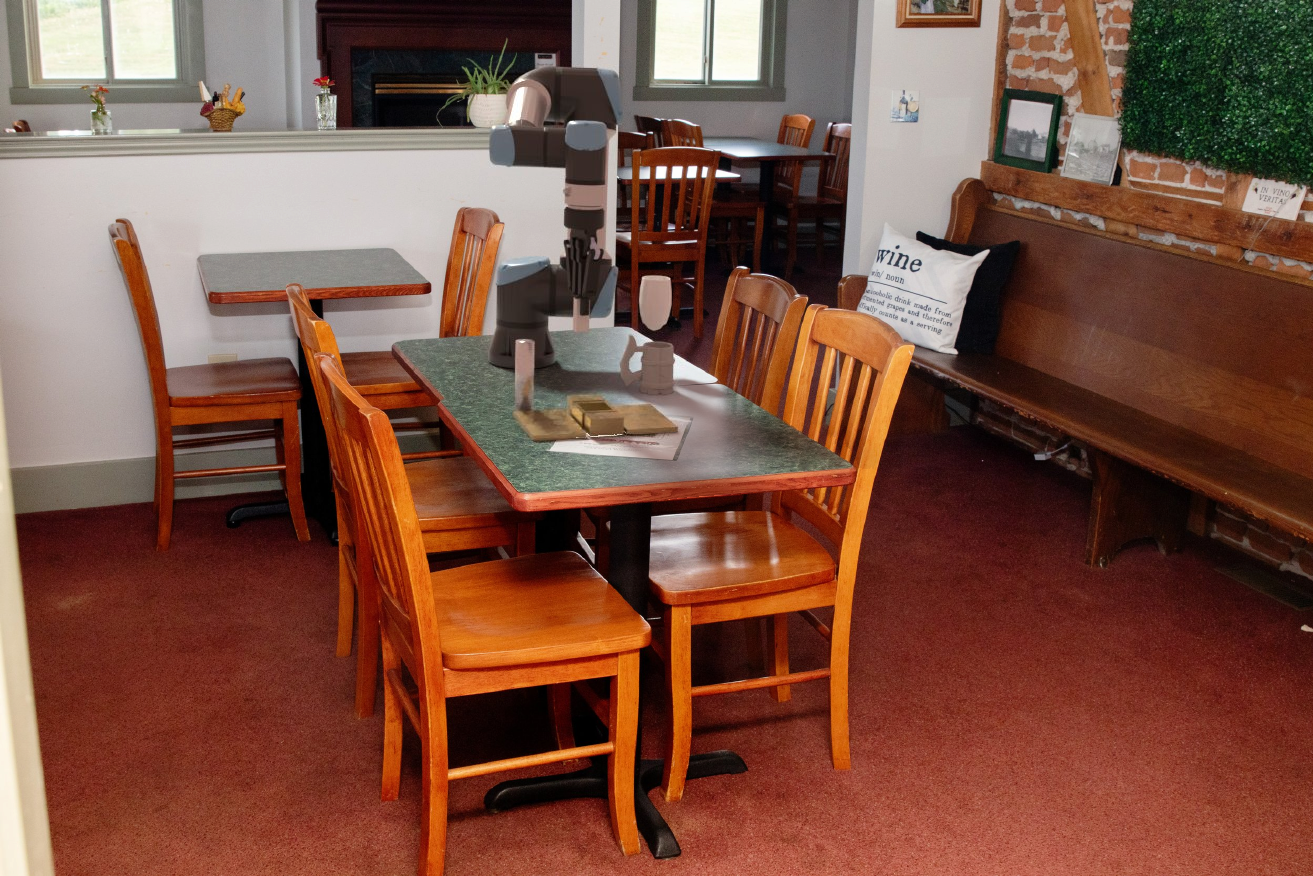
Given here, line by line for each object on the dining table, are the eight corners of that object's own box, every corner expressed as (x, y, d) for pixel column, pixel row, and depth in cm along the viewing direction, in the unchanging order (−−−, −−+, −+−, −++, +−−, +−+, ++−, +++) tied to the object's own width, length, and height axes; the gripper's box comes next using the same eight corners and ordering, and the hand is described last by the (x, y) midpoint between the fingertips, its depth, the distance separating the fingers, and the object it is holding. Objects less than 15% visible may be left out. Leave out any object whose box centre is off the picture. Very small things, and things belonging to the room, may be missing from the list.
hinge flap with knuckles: (566, 412, 241) (567, 395, 240) (650, 408, 246) (650, 391, 245) (590, 436, 226) (590, 418, 225) (677, 431, 232) (678, 413, 231)
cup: (670, 367, 281) (675, 276, 275) (665, 374, 274) (669, 281, 268) (639, 364, 282) (643, 274, 276) (633, 371, 275) (637, 279, 269)
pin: (512, 409, 242) (513, 339, 238) (530, 408, 243) (532, 338, 239) (517, 414, 239) (518, 343, 234) (535, 413, 240) (536, 342, 236)
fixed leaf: (512, 416, 237) (513, 398, 236) (599, 412, 243) (600, 394, 242) (532, 441, 223) (533, 422, 222) (624, 435, 228) (625, 417, 227)
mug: (678, 395, 258) (681, 338, 254) (622, 395, 255) (624, 338, 252) (670, 385, 265) (672, 330, 262) (615, 386, 262) (617, 330, 259)
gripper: (551, 202, 234) (549, 325, 241) (580, 211, 223) (577, 339, 230) (587, 202, 237) (584, 322, 244) (618, 210, 226) (613, 337, 233)
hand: (580, 330), depth 237 cm, fingers closed
